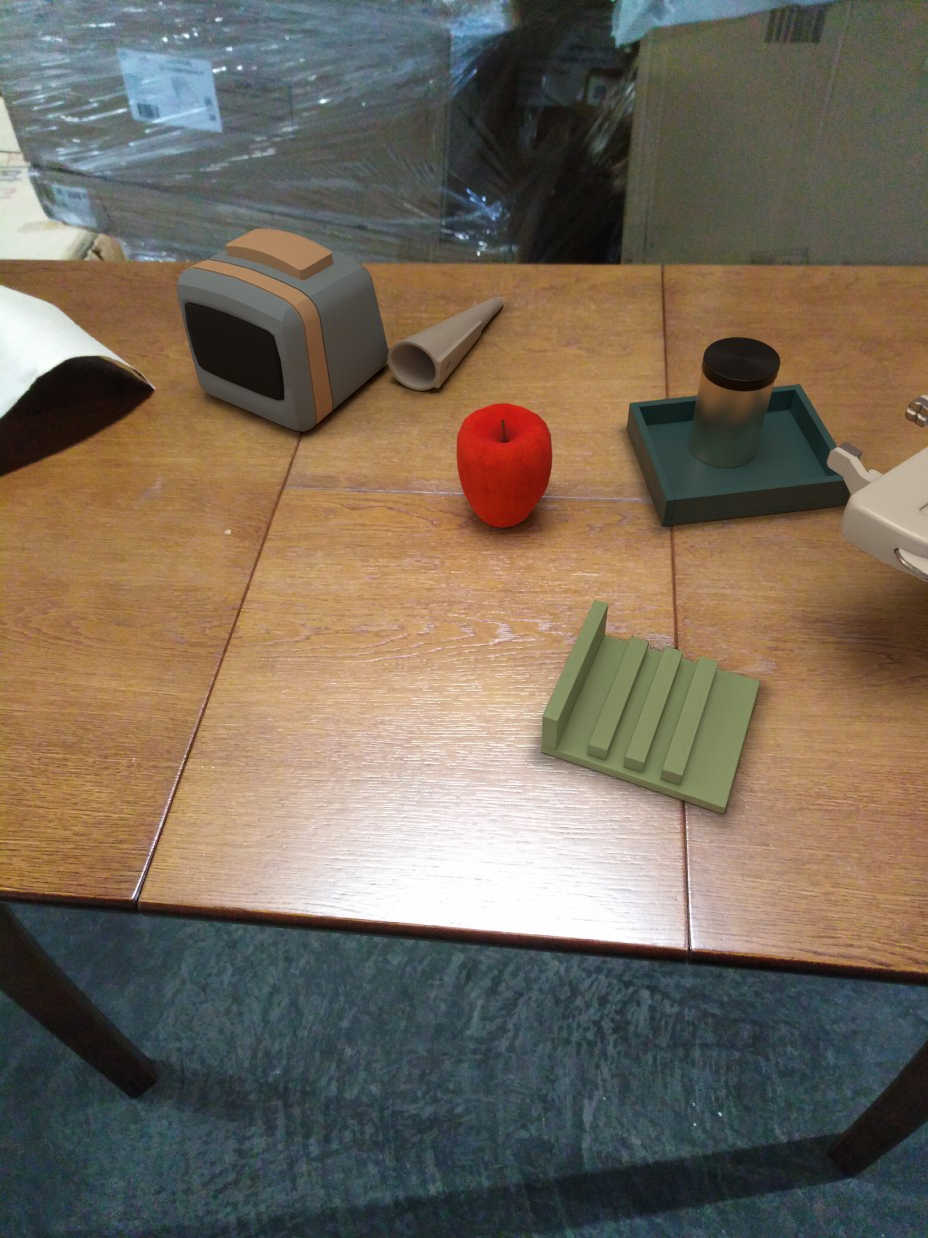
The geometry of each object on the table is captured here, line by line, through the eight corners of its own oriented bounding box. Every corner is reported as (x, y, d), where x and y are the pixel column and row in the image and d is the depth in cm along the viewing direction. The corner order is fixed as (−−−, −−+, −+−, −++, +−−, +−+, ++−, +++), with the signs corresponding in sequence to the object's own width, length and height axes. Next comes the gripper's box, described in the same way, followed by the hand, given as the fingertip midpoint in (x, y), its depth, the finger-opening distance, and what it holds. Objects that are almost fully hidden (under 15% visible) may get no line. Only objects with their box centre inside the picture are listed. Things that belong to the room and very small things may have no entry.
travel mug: (763, 432, 90) (786, 344, 82) (749, 475, 86) (772, 386, 78) (696, 418, 92) (713, 331, 84) (680, 459, 88) (695, 371, 80)
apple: (569, 521, 84) (574, 429, 76) (491, 558, 82) (487, 468, 74) (518, 469, 89) (517, 378, 81) (442, 503, 87) (434, 412, 79)
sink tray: (792, 410, 93) (800, 383, 91) (846, 505, 84) (856, 478, 82) (626, 428, 93) (629, 402, 90) (662, 526, 83) (666, 500, 81)
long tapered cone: (461, 263, 108) (388, 333, 95) (509, 278, 106) (442, 351, 94) (456, 307, 112) (386, 380, 99) (503, 322, 111) (437, 398, 98)
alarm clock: (195, 396, 100) (149, 262, 88) (290, 325, 108) (261, 193, 96) (307, 444, 94) (274, 307, 81) (398, 364, 102) (382, 228, 90)
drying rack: (758, 687, 71) (771, 649, 68) (723, 814, 65) (735, 780, 61) (590, 638, 75) (594, 599, 72) (540, 752, 69) (542, 716, 65)
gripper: (928, 622, 62) (774, 514, 69) (1095, 497, 69) (940, 410, 76) (962, 560, 57) (793, 450, 65) (1139, 431, 64) (968, 346, 72)
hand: (874, 428), depth 71 cm, fingers open, 8 cm apart
